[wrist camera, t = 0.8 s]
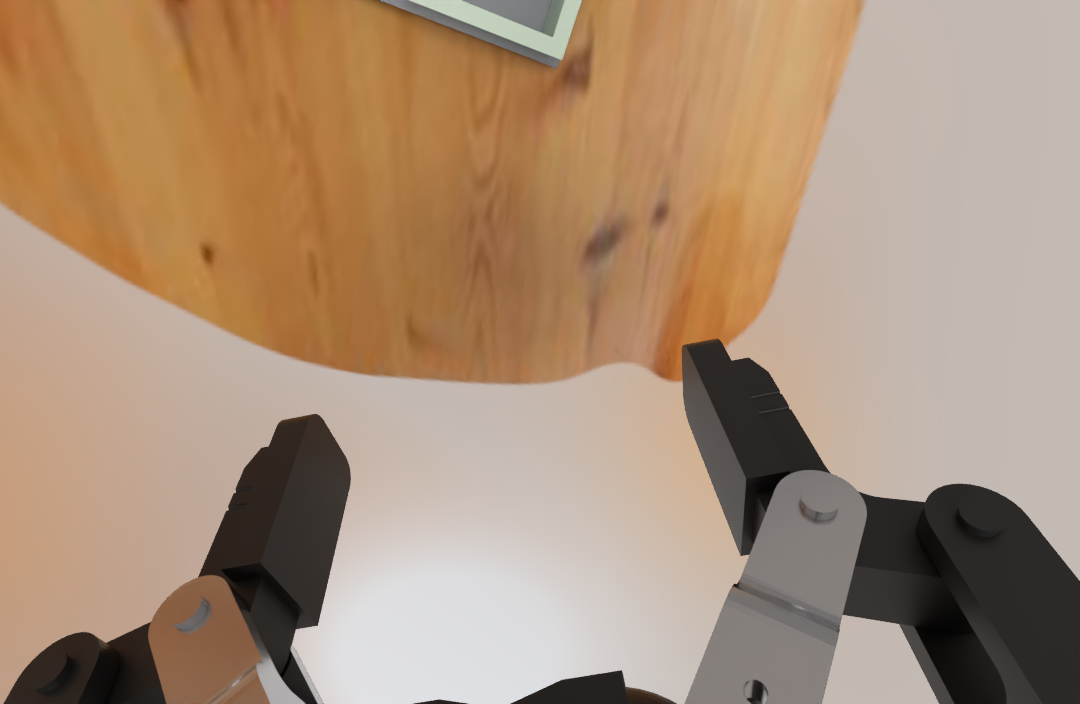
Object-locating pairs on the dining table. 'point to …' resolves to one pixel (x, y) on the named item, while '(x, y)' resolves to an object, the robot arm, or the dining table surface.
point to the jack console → (506, 23)
